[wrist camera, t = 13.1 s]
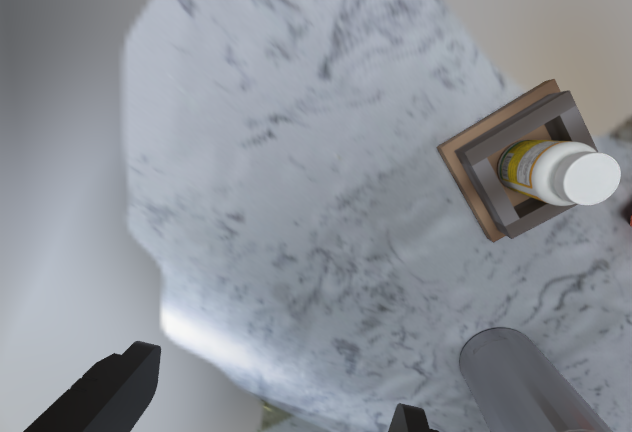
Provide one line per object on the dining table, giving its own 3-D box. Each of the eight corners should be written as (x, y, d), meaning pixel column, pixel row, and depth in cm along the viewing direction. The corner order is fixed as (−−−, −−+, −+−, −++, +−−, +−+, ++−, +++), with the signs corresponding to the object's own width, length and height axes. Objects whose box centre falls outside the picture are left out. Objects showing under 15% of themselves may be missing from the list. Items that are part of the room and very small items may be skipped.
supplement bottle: (485, 160, 34) (540, 171, 25) (534, 128, 33) (610, 126, 24) (513, 202, 35) (575, 227, 26) (561, 171, 34) (644, 186, 24)
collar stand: (593, 181, 35) (628, 188, 31) (487, 238, 38) (506, 252, 33) (545, 81, 33) (575, 73, 29) (436, 147, 36) (449, 149, 31)
